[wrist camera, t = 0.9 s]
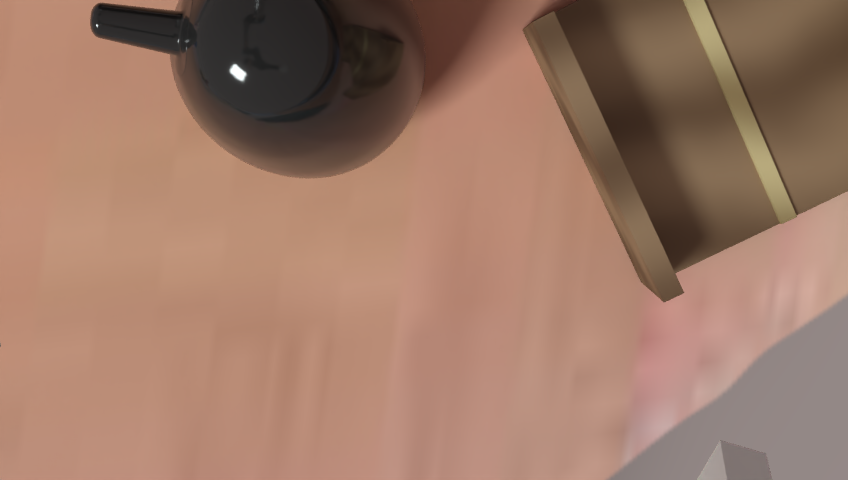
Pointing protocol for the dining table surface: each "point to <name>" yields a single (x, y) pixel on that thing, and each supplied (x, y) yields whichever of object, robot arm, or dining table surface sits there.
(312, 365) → the dining table surface
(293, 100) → the pump dispenser
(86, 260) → the dining table surface
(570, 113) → the track
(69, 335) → the dining table surface
